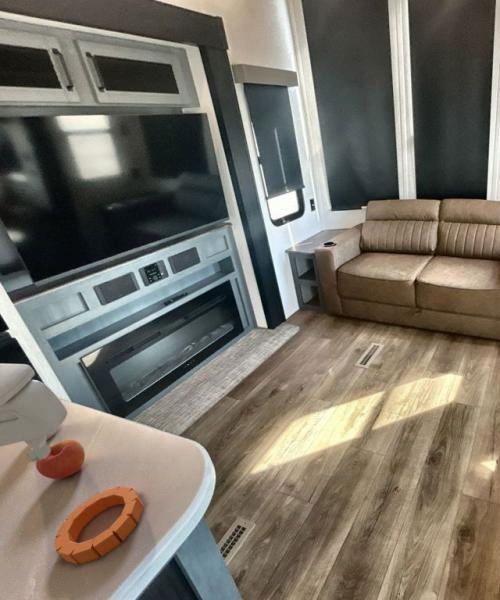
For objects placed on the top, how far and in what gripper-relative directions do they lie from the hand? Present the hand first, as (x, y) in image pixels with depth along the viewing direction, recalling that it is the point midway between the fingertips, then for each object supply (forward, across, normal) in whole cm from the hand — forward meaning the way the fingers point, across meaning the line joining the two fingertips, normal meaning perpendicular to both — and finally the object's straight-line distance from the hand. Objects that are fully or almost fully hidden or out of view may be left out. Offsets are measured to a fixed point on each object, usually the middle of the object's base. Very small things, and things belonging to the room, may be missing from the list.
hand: (6, 465), depth 53 cm
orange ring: (+20, +3, +2) cm, 21 cm away
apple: (+21, -10, +18) cm, 30 cm away
